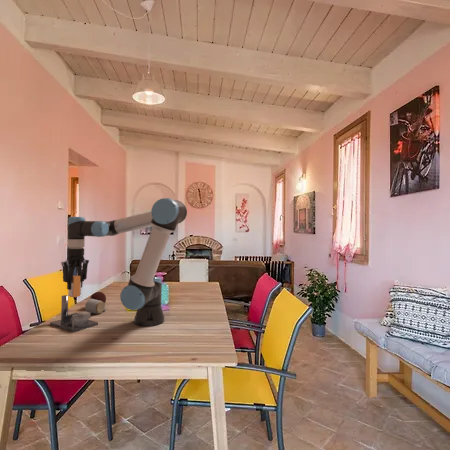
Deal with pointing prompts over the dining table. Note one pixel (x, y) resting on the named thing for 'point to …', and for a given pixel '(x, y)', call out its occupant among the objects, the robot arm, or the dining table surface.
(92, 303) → the ceramic mug
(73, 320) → the grey rock
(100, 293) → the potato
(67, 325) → the dark block with post
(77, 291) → the orange rectangular block
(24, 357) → the dining table surface
